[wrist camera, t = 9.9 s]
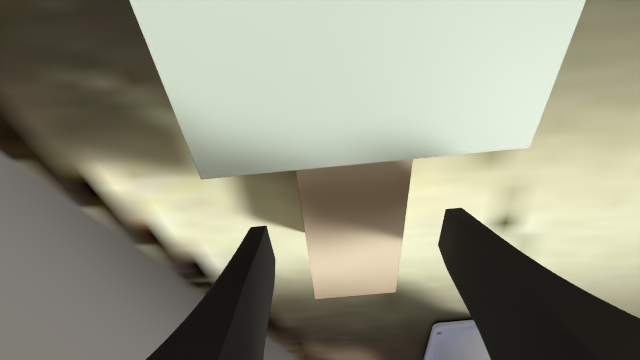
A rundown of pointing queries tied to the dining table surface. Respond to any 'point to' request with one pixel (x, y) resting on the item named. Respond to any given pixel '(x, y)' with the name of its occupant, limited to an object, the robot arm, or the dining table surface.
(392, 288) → the peg
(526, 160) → the dining table surface
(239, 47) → the block
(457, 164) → the dining table surface
